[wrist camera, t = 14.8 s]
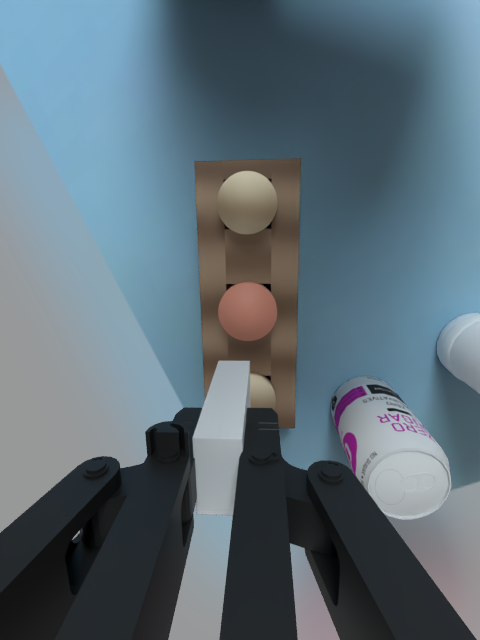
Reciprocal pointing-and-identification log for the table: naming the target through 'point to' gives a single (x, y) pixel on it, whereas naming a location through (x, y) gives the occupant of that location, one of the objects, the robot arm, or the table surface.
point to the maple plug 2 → (261, 392)
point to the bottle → (462, 349)
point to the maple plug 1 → (247, 202)
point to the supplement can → (390, 449)
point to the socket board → (251, 275)
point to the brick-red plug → (247, 311)
